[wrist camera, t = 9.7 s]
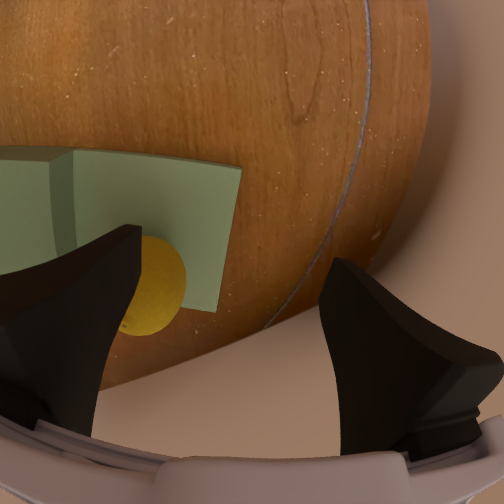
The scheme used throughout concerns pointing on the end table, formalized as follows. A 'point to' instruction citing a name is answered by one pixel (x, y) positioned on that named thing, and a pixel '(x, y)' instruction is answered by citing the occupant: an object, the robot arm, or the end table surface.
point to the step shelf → (117, 207)
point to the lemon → (156, 289)
